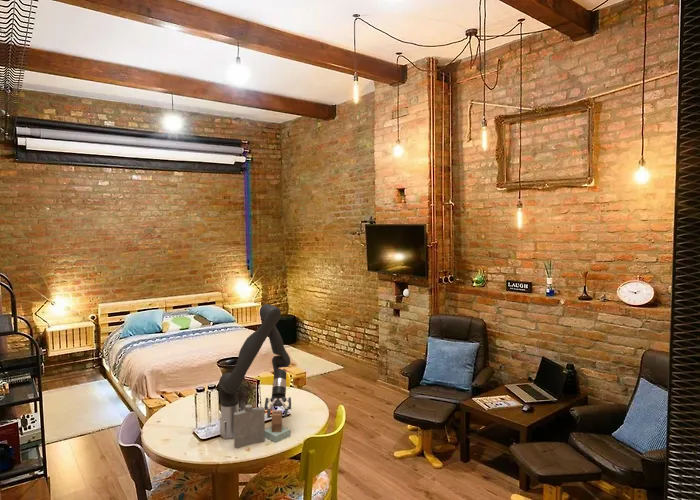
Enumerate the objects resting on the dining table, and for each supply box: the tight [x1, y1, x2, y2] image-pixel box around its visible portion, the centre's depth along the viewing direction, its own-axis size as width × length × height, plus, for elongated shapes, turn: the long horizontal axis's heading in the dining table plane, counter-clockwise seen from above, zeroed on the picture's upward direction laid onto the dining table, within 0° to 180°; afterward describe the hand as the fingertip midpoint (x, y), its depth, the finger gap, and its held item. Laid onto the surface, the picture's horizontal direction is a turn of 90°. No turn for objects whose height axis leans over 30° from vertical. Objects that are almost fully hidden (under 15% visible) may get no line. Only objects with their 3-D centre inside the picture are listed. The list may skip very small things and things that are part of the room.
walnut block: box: [271, 410, 283, 432], centre depth 247 cm, size 5×5×9 cm
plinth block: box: [265, 425, 291, 444], centre depth 247 cm, size 10×10×4 cm
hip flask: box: [233, 404, 266, 449], centre depth 239 cm, size 16×4×20 cm, turn 119°
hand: (277, 417), depth 247 cm, fingers open, 8 cm apart
